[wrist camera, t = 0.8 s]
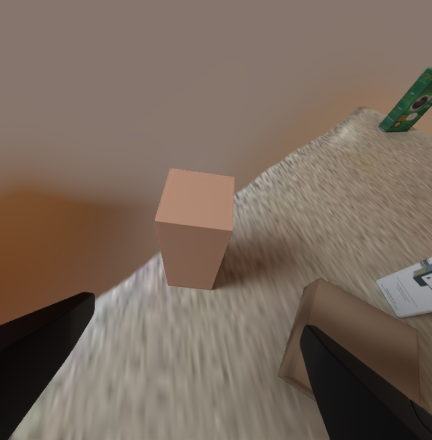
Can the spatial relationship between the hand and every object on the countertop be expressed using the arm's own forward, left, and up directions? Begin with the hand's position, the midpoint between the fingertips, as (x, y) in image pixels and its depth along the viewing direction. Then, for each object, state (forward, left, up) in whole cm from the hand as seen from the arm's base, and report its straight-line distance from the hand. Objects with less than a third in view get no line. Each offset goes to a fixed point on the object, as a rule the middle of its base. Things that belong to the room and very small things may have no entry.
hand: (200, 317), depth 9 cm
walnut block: (+7, -14, -15) cm, 21 cm away
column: (+7, +4, -14) cm, 17 cm away
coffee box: (+66, -19, -15) cm, 70 cm away
